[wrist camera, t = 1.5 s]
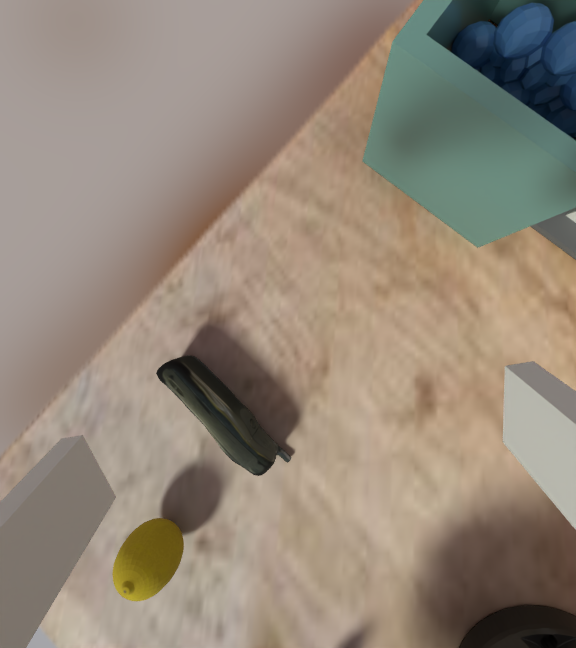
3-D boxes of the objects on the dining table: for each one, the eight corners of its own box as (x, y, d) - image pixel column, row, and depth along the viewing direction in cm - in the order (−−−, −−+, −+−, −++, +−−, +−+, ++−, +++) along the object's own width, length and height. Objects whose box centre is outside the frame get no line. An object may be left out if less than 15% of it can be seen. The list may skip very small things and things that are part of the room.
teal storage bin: (613, 86, 29) (885, -125, 15) (477, 247, 30) (606, 194, 16) (487, -1, 29) (632, -279, 16) (362, 161, 31) (392, 41, 17)
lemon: (147, 499, 35) (95, 554, 27) (197, 506, 34) (159, 565, 27) (144, 549, 35) (92, 618, 27) (193, 557, 35) (155, 630, 27)
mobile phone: (147, 377, 30) (266, 499, 28) (168, 353, 29) (290, 476, 28) (173, 369, 35) (276, 472, 33) (192, 348, 34) (296, 452, 33)
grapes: (563, 127, 29) (730, -1, 17) (513, 192, 30) (640, 113, 18) (453, 56, 30) (538, -114, 18) (406, 121, 30) (459, -1, 19)
